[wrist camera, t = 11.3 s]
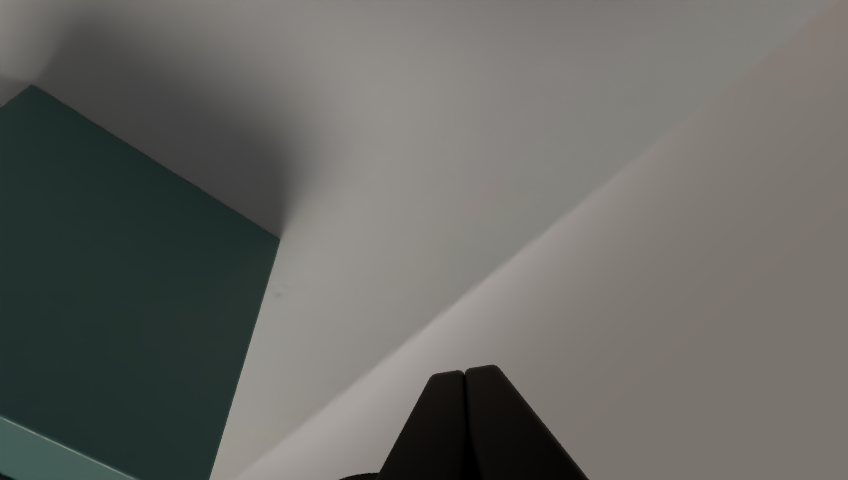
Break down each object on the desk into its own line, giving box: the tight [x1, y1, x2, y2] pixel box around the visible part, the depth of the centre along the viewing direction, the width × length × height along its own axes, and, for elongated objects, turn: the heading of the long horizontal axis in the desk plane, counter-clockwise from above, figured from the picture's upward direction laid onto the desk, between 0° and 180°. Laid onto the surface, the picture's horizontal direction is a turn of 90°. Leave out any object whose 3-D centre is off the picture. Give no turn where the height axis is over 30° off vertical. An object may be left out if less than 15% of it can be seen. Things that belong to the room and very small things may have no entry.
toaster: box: [0, 85, 280, 480], centre depth 19 cm, size 8×10×10 cm
